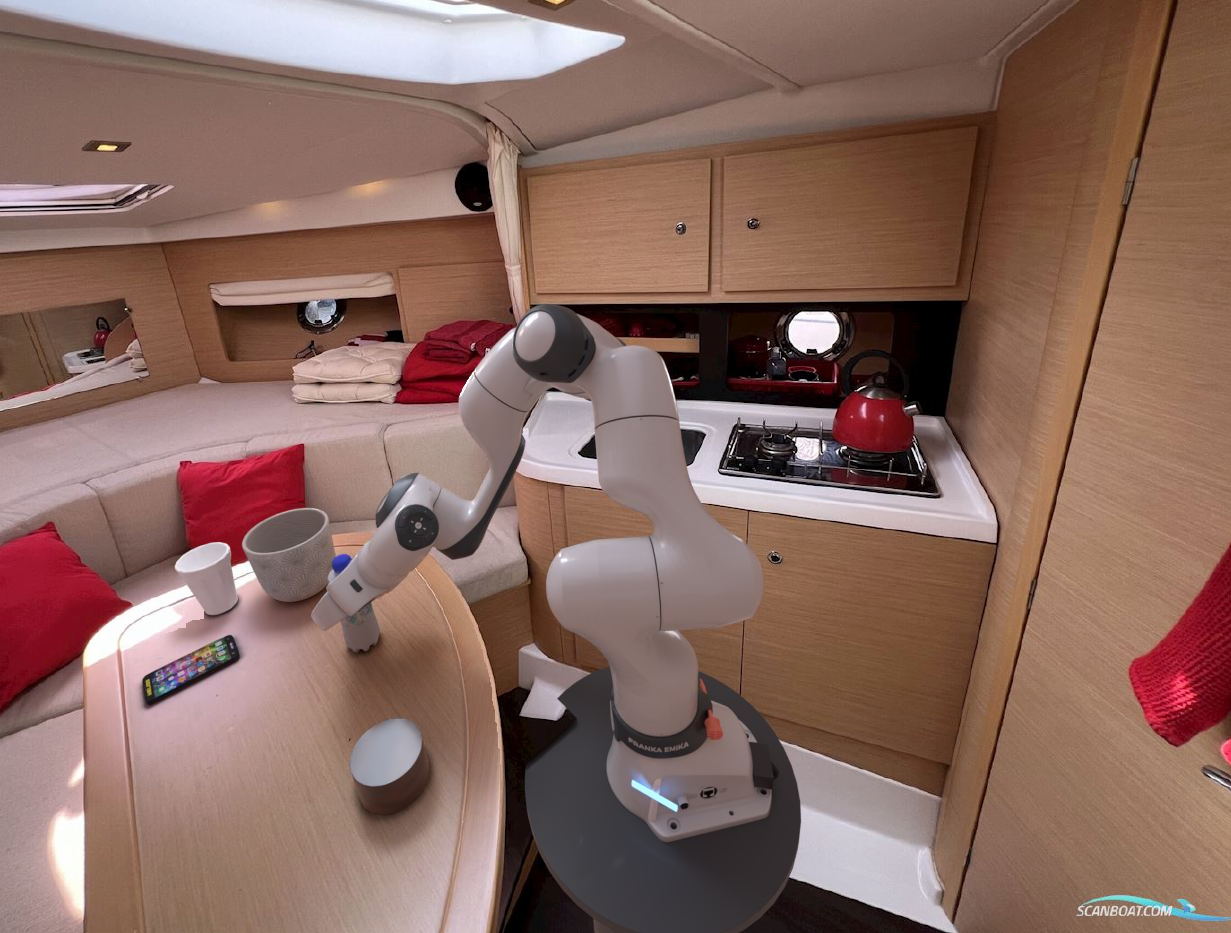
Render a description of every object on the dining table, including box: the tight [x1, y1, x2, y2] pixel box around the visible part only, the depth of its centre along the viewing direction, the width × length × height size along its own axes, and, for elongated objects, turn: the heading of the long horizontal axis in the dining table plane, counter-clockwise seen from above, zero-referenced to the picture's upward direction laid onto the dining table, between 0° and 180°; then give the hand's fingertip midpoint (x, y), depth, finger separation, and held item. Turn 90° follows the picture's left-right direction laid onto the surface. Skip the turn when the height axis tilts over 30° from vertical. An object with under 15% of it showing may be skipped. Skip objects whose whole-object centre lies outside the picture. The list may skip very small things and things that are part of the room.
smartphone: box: [141, 634, 241, 705], centre depth 100 cm, size 8×1×15 cm
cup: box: [174, 541, 239, 616], centre depth 114 cm, size 10×10×13 cm
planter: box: [241, 507, 337, 603], centre depth 117 cm, size 17×17×15 cm
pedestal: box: [349, 717, 430, 816], centre depth 77 cm, size 10×10×6 cm
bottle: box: [327, 553, 381, 653], centre depth 100 cm, size 7×7×20 cm
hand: (352, 596), depth 100 cm, fingers open, 8 cm apart
